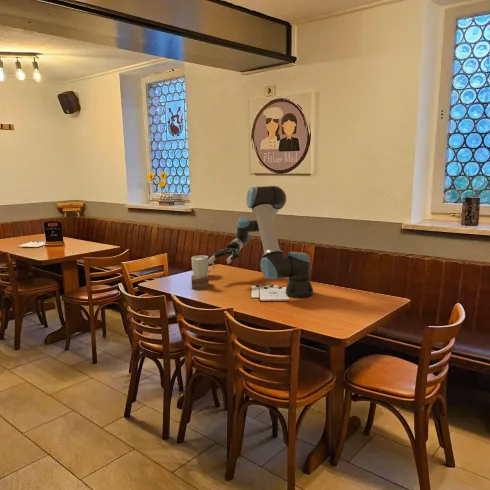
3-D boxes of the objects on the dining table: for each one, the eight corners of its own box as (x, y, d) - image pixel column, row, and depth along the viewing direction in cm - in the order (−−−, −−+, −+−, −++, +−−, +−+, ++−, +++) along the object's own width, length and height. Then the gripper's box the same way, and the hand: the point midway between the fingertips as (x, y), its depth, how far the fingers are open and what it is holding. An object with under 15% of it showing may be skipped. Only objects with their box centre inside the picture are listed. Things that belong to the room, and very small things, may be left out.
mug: (213, 273, 295) (212, 254, 293) (216, 276, 284) (215, 257, 282) (191, 275, 292) (190, 256, 290) (193, 278, 281) (192, 259, 279)
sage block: (205, 276, 261) (204, 258, 259) (198, 278, 258) (197, 260, 256) (200, 275, 265) (199, 257, 263) (194, 276, 261) (193, 259, 259)
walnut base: (208, 288, 258) (208, 278, 257) (192, 289, 257) (191, 279, 256) (208, 283, 268) (207, 274, 267) (191, 284, 267) (191, 275, 266)
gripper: (253, 251, 273) (237, 267, 256) (220, 252, 286) (203, 267, 269) (250, 240, 270) (234, 255, 254) (217, 242, 283) (199, 256, 266)
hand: (218, 262), depth 261 cm, fingers open, 13 cm apart
